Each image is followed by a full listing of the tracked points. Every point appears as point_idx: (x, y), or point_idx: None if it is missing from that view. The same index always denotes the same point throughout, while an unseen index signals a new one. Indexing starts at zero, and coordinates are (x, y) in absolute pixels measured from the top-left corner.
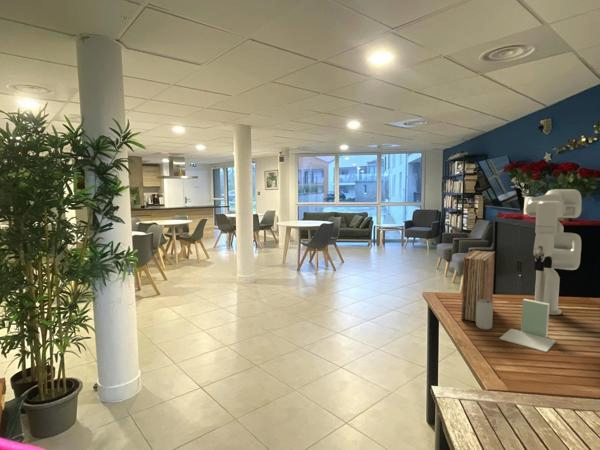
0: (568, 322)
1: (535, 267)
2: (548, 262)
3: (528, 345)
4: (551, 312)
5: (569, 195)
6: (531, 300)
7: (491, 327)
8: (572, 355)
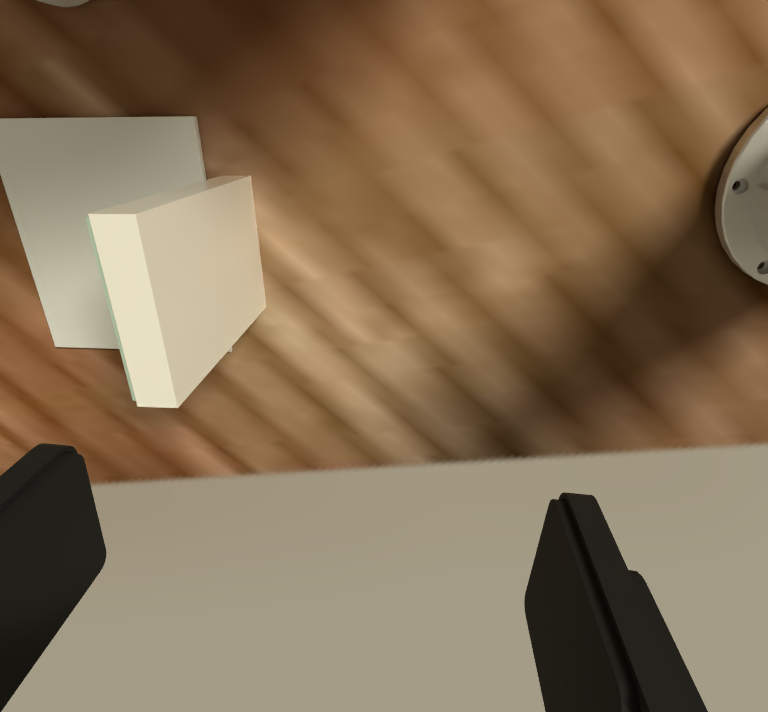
0: (612, 349)
1: (4, 488)
2: (559, 692)
3: (42, 271)
4: (737, 245)
5: None
6: (136, 282)
7: (60, 6)
8: (131, 422)
